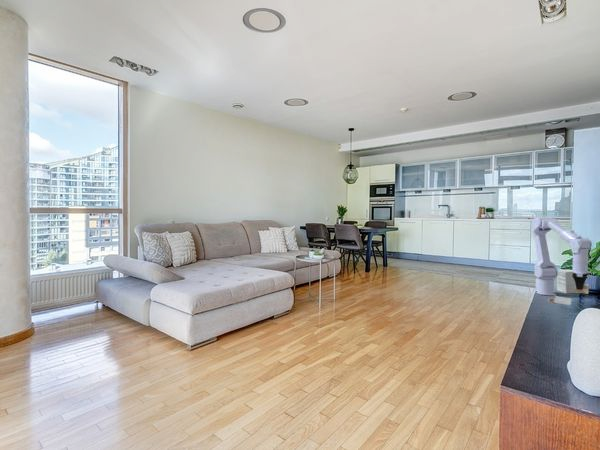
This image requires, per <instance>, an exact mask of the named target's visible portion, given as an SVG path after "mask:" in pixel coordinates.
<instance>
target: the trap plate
mask: <svg viewBox="0 0 600 450" xmlns="http://www.w3.org/2000/svg"><path fill="white" fill-rule="evenodd" d="M547 303H553V304H554V303H555V298H548V299H547Z"/></svg>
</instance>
